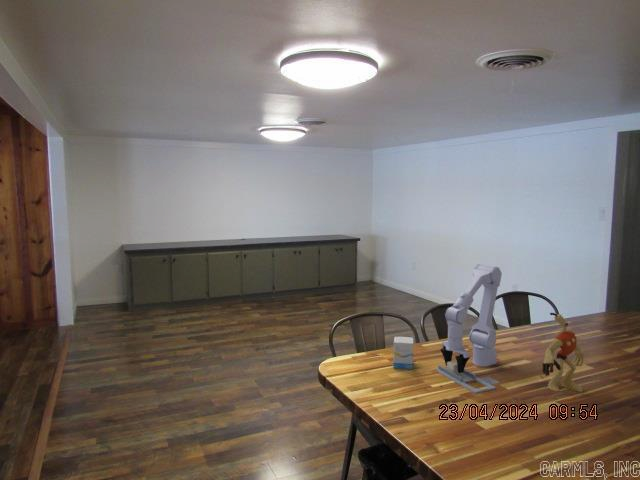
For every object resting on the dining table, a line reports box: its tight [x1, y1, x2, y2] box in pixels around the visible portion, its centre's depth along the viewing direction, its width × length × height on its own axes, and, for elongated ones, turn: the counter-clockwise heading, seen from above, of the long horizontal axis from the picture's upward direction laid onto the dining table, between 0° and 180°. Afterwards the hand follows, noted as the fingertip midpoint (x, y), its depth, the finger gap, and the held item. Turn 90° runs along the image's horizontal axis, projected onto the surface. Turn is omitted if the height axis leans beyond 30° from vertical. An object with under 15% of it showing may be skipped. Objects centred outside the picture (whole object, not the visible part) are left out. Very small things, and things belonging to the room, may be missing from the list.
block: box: [446, 360, 461, 374], centre depth 180 cm, size 4×4×4 cm
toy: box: [542, 312, 586, 397], centre depth 164 cm, size 23×9×30 cm, turn 117°
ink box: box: [392, 336, 414, 370], centre depth 193 cm, size 9×8×12 cm
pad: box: [479, 376, 501, 385], centre depth 173 cm, size 5×6×2 cm
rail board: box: [435, 364, 497, 394], centre depth 175 cm, size 10×23×4 cm, turn 23°
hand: (454, 368), depth 180 cm, fingers open, 7 cm apart
